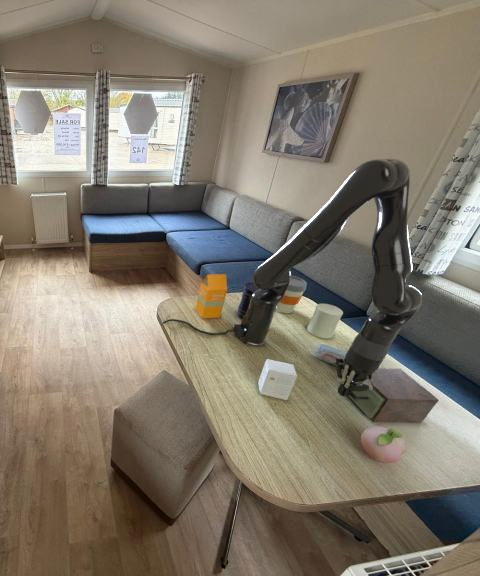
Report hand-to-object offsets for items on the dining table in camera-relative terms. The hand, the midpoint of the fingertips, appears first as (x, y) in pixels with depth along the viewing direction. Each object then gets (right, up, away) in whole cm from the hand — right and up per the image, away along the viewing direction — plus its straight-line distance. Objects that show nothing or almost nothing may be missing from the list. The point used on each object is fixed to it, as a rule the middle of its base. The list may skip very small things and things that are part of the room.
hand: (342, 394), depth 95 cm
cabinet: (+14, -4, +2) cm, 15 cm away
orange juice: (-24, +21, +48) cm, 57 cm away
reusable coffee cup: (+14, +23, +54) cm, 60 cm away
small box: (-18, -1, +6) cm, 19 cm away
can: (+20, +14, +37) cm, 44 cm away
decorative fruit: (-2, -12, -13) cm, 18 cm away
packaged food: (+12, +5, +20) cm, 24 cm away
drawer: (+10, -3, +2) cm, 11 cm away
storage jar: (-6, +20, +46) cm, 51 cm away
